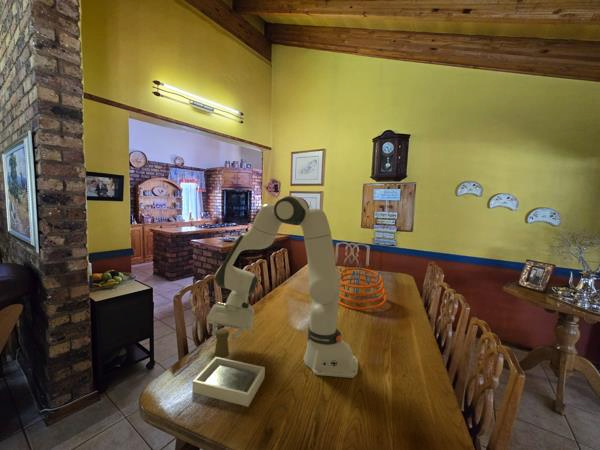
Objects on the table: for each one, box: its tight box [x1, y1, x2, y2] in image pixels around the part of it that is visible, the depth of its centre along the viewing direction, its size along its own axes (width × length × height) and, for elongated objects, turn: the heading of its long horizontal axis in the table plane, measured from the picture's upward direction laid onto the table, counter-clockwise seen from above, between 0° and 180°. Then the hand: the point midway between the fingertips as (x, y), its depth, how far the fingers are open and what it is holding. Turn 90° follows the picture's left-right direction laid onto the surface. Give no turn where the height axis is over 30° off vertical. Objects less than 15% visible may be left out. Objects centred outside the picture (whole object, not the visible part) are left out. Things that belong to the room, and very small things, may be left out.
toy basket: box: [338, 263, 388, 311], centre depth 175 cm, size 34×35×24 cm
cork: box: [214, 328, 230, 359], centre depth 107 cm, size 6×6×11 cm
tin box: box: [206, 365, 255, 392], centre depth 90 cm, size 14×10×2 cm
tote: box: [192, 356, 266, 408], centre depth 90 cm, size 20×14×5 cm
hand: (223, 336), depth 108 cm, fingers open, 8 cm apart
